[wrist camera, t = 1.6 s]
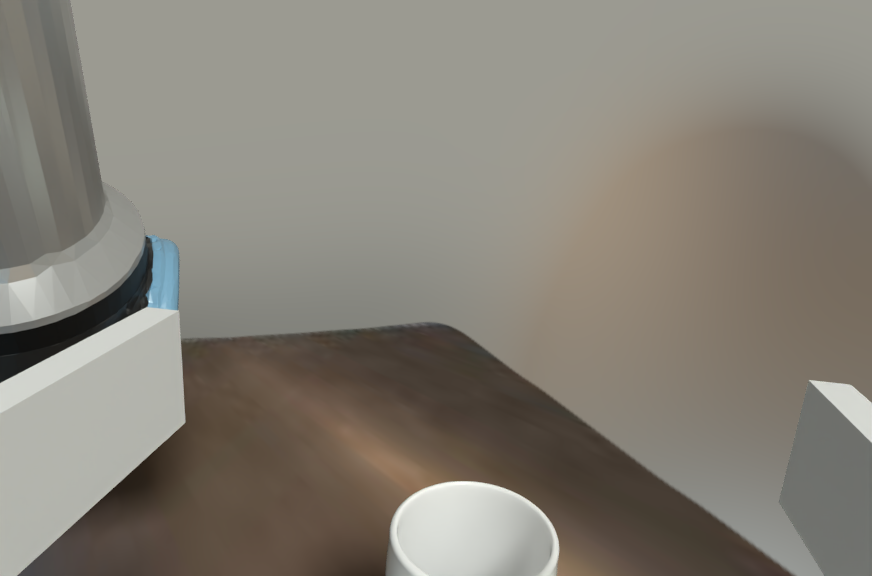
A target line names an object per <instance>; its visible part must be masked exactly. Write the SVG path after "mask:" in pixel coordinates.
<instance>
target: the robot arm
mask: <svg viewBox="0 0 872 576" xmlns="http://www.w3.org/2000/svg"><path fill="white" fill-rule="evenodd" d="M178 300H179V250H178V247H177V246H176V244H175V243H174V242H172V241H170V240H167V239H160V238H158V237H157V236H155V235H152V236H147V235H146V236H145V229H144V226H143V222H142V219H141V216H140V214H139V211H138V210H137V208H136V207H135V206H134V204H133V203H132V202H131V201H130V200H129V199H128V198H127V197H126V196H124V194H122V193H121V192H119V191H118V190H116V189H115V188H114V187H112V186H110V185H108V184H106V183H104V182H102V181H101V175H100V169H99V163H98V158H97V152H96V146H95V140H94V135H93V129H92V123H91V117H90V112H89V106H88V100H87V95H86V89H85V84H84V77H83V72H82V66H81V60H80V55H79V49H78V43H77V37H76V31H75V26H74V20H73V15H72V8H71V3H70V0H0V576H17V575H18V574H19V573H20V572H21V571H22V570H24V569H25V568H26V567H27V566H28V565H29V564H30V563H31V562H32V561H34V560H35V559H36V558H37V557H38V556H39V555H40V554H41V553H42V552H43V551H45V550H46V549H47V548H48V547H49V546H50V545H51V544H52V543H53V542H54V541H56V540H57V539H58V538H59V537H60V536H61V535H62V534H63V533H64V532H65V531H67V530H68V529H69V528H70V527H71V526H72V525H73V524H74V523H75V522H76V521H78V520H79V519H80V518H81V517H82V516H83V515H84V514H85V513H86V512H87V511H89V510H90V509H91V508H92V507H93V506H94V505H95V504H96V503H97V502H99V501H100V500H101V499H102V498H103V497H104V496H105V495H106V494H107V493H108V492H110V491H111V490H112V489H113V488H114V487H115V486H116V485H117V484H118V483H119V482H121V481H122V480H123V479H124V478H125V477H126V476H127V475H128V474H129V473H130V472H132V471H133V470H134V469H135V468H136V467H137V466H138V465H139V464H140V463H141V462H143V461H144V460H145V459H146V458H147V457H148V456H149V455H150V454H151V453H152V452H154V451H155V450H156V449H157V448H158V447H159V446H160V445H161V444H162V443H163V442H165V441H166V440H167V439H168V438H169V437H170V436H171V435H172V434H173V433H175V432H176V431H177V430H178V429H179V428H180V427H181V426H182V425H183V424H184V423H185V408H184V390H183V373H182V355H181V338H180V320H179V311H178ZM779 503H780V505H781V506H782V508H783V509H784V511H785V513H786V514H787V516H788V517H789V519H790V521H791V522H792V524H793V526H794V527H795V529H796V530H797V532H798V534H799V535H800V537H801V538H802V540H803V542H804V543H805V545H806V547H807V548H808V550H809V551H810V553H811V555H812V556H813V558H814V560H815V561H816V563H817V564H818V566H819V568H820V569H821V571H822V572H823V574H824V576H872V403H871V402H870V401H869V400H868V399H866V398H865V397H864V396H863V395H862V394H861V393H860V392H858V391H857V390H856V389H855V388H854V387H853V386H851V385H847V384H839V383H829V382H821V381H812V380H809V382H808V386H807V390H806V394H805V398H804V402H803V406H802V410H801V415H800V419H799V422H798V426H797V431H796V435H795V439H794V443H793V447H792V451H791V455H790V459H789V463H788V467H787V471H786V475H785V479H784V483H783V487H782V491H781V495H780V499H779Z"/></svg>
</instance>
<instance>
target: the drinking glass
mask: <svg viewBox="0 0 872 576" xmlns="http://www.w3.org/2000/svg"><path fill="white" fill-rule="evenodd" d="M558 557H559V542H558V537H557V534H556V531H555V529H554V527H553V525H552V524H551V522H550V520H549V519H548V518H547V517H546V515H545V514H544V513H543V512H542V511H541V510H540V509H539V508H538V507H537V506H535V505H534V504H533V503H532V502H530V501H529V500H527V499H526V498H524V497H522V496H520V495H519V494H517V493H514V492H512V491H510V490H507V489H505V488H502V487H499V486H495V485H491V484H487V483H481V482H472V481H454V482H446V483H440V484H436V485H432V486H429V487H427V488H424V489H422V490H420V491H418V492H416V493H414V494H413V495H411V496H410V497H408V498H407V499H406V500H405V501H404V502H403V503H402V504H401V505H400V506H399V507H398V509H397V510H396V512H395V514H394V516H393V518H392V521H391V524H390V532H389V541H388V549H387V558H386V568H385V576H557V567H558Z"/></svg>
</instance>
